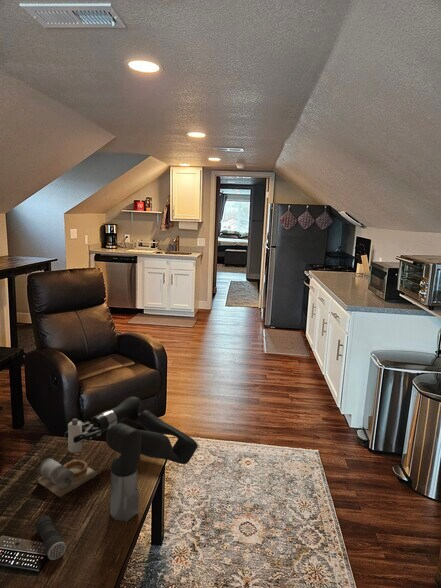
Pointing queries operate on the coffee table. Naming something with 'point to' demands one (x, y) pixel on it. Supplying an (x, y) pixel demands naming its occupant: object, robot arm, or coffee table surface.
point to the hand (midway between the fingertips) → (69, 437)
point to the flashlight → (50, 538)
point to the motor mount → (64, 475)
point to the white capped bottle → (74, 435)
